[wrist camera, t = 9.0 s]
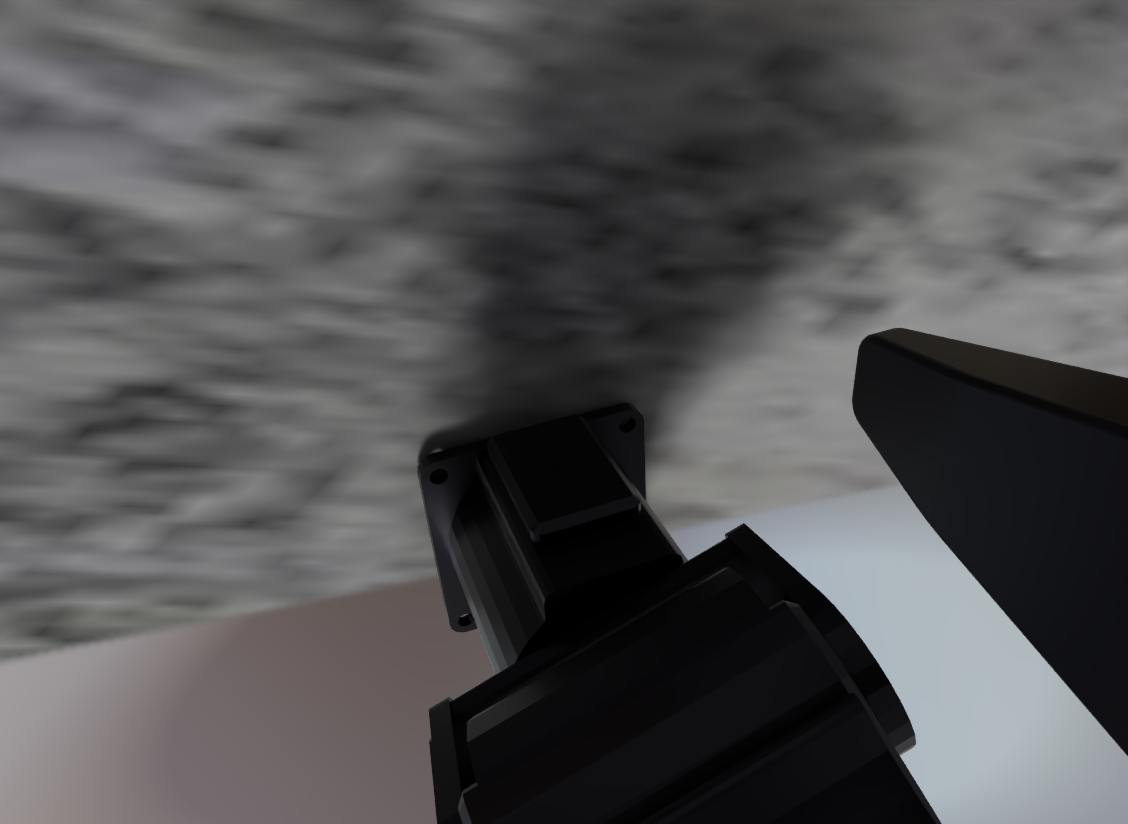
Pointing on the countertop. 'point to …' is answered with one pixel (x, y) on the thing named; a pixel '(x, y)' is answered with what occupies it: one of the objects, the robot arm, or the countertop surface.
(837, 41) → the countertop surface
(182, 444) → the countertop surface
